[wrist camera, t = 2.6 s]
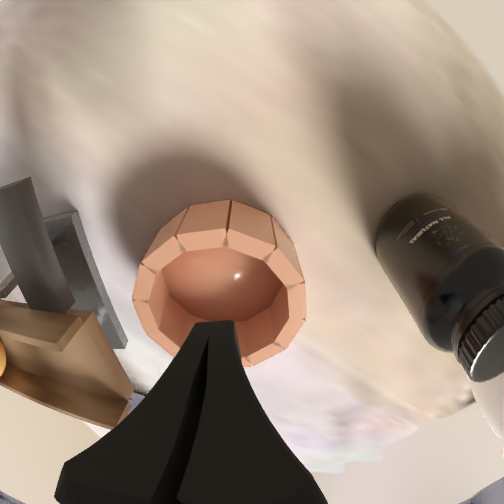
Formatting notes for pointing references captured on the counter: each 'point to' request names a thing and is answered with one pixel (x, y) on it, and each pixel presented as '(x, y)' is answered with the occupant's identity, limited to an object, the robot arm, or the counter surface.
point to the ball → (2, 359)
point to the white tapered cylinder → (491, 402)
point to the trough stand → (78, 274)
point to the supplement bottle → (447, 280)
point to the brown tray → (53, 326)
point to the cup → (222, 279)
